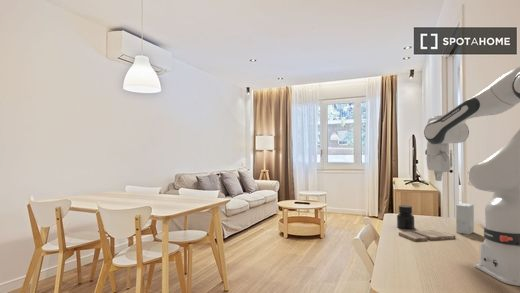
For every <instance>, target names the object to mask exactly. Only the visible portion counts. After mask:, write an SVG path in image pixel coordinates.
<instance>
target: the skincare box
mask: <svg viewBox="0 0 520 293" xmlns="http://www.w3.org/2000/svg"><path fill="white" fill-rule="evenodd" d="M474 206H475V205H474V204H472V203H464V202H460V203H458V204H456V206H455V208H456V209H455V211H456V213H455V214H456V215H455V218H456V220H455V221H456V223H455V225H456V230H455V231H456V233H457V232H458V234H462V233H463V235H468V236H469V235H470V234H472V233H474V231H475V228H474V227H475V225H474V224H475V222H474V220H475V218H474V217H475V216H474V215H475V214H474V213H475V212H474V210H475V209H474V208H475V207H474Z"/></svg>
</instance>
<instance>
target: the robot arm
mask: <svg viewBox="0 0 520 293" xmlns="http://www.w3.org/2000/svg"><path fill="white" fill-rule="evenodd" d="M519 103H520V66H517V67H515V68H513V69H510V71H507V72H506V73H504V74H503V75H502V76H499V78H497V79H496V80H495V81H493V82H492V83H490V85H487V87H486V88H483V90H481V91H480V92H478V93H476V94H475V95H474V96H472V97H470V98H468V99H466V100H464V101H463V102H462V103H460V104H458V105H456V107H454V108H452V109H451V110H450V111H448V112H447V113H445V114H444V115H436V116H432V117H429V119H428V120H427V124H426V126H425V127H424V131H423V134H424V137H425V139H426V141H427V143H426V149H425V150H424V151H425V152H424V153H425V155H426V167H427V169H428V171H433V175H434V178H435V181H437V182H441V181H442V178H443V174H444V173H450V171H451V160H450V156H449V155H450V146H449V145H450V144H461V143H464V142H465V141H466V140H467V139H468V138H469V135H470V130H469V127H468V125H467V124H466V123H465V121H467V120H470V119H473V118H480V117H484V116H496V115H499V114H503V113H504V112H507V111H508V110H510V109H512V108H514V107H515V106H516V105H517V104H519ZM468 180H469V182H470V184H471V185H472V186H473V188H475V189H477V190H479V191H484V192H489V193H493V194H492V197H491V199H490V201H488V203H486V205H485V207H484V216H485V218H484V219H485V222H484V224H485V227H484V228H483V237H484V240H483V241H482V242H481V243H480V245H479V246H480V247H479V259H478V260H479V262H476V263H475V268H477V270H480V271H482V272H483V273H485V274H487V275H489V276H491V277H493V278H495V279H496V280H498V281H500V282H502V283H504V284H508V285H510V286H511V285H512V286H516V287H517V286H518V287H520V128H519V129H518V130H517V131H516V133H515V134H514V135H513V136H512V137H511V138H510V140H509V141H507V142H506V143H505V144H504V145H503V146H501V148H499V149H498V150H497V151H494V153H492V154H491V155H490V156H488V157H487V158H486V159H484V160H482V161H480V162H478V163H476V164H473V166H471V168H470V169H469V171H468Z"/></svg>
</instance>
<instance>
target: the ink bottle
mask: <svg viewBox="0 0 520 293" xmlns="http://www.w3.org/2000/svg"><path fill="white" fill-rule="evenodd" d="M398 212H399V213H398V214H397V215H396V226H397V228H399V229H402V230H403V229H404V230H413V229H415V216H414V215H413V206H411V205H406V204H405V205H398Z"/></svg>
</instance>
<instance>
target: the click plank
mask: <svg viewBox="0 0 520 293" xmlns="http://www.w3.org/2000/svg"><path fill="white" fill-rule="evenodd" d="M412 232H414V233H417V234H420V235H423V236H426V237H428V241H441V240H443V241H444V240H456V235H455V234H451V233H449V232H446V231H442V230H439V229H426V230H413V231H412Z"/></svg>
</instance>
